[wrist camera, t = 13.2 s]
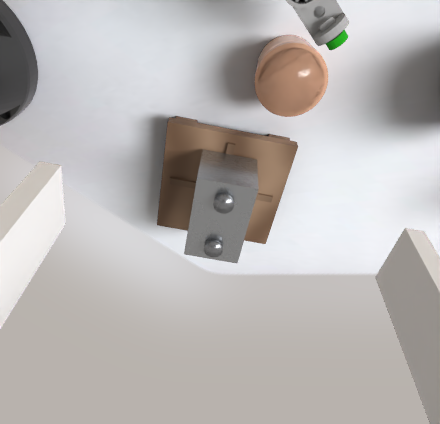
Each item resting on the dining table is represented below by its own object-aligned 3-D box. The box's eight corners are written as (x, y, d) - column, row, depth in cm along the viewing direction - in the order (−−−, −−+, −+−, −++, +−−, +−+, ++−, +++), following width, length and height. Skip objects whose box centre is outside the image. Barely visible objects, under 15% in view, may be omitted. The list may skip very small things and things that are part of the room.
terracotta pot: (247, 91, 41) (247, 109, 37) (262, 25, 37) (264, 36, 33) (307, 103, 41) (314, 122, 37) (328, 38, 37) (338, 51, 33)
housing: (202, 149, 41) (196, 182, 36) (257, 159, 42) (258, 194, 36) (190, 221, 47) (183, 259, 42) (238, 229, 47) (237, 268, 42)
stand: (161, 211, 51) (156, 226, 48) (172, 111, 42) (167, 123, 40) (264, 229, 51) (265, 245, 49) (295, 134, 43) (298, 148, 41)
